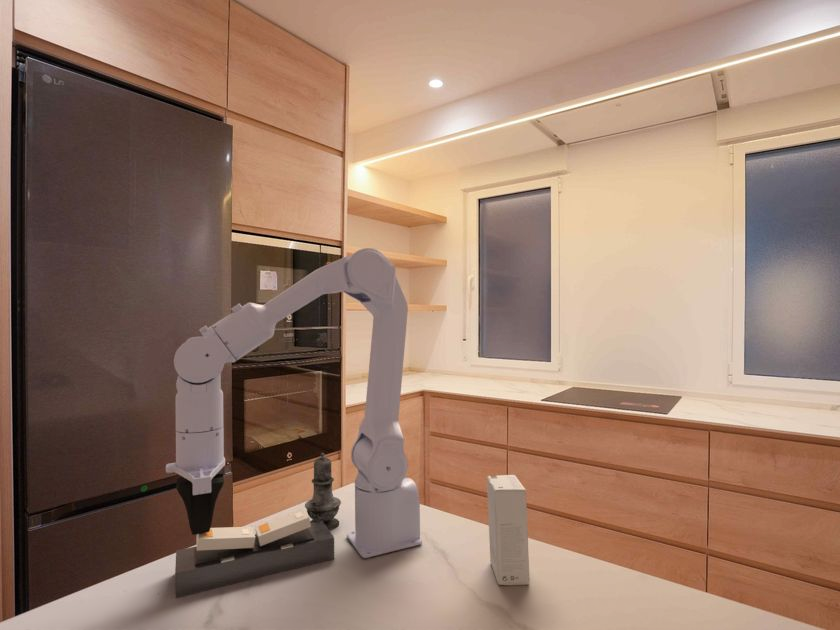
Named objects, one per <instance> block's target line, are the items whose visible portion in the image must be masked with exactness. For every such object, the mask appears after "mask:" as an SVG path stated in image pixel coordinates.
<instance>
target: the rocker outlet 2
mask: <svg viewBox="0 0 840 630" xmlns="http://www.w3.org/2000/svg"><path fill="white" fill-rule="evenodd" d="M310 521H311V518H310V517H309V515H308V513H307V510H305V507H304V508H303V507H302V508H300V509H298V510H294V511H292V512H289V513H286V514H284V515H280V516H279V517H276V518H273V519H270V520H267V521H265V522H261V523H259V524H256V525H254V529H255V534H256V535H257V538H258V541H259V544H260V546H262V545H265V544H268V543H270V542H273V541H275V540H278V539H281V538H283V537H286V536H288V535H291V534H293V533H296V532H299V531H301V530H304V529H306V528H309V527H311V524H310Z"/></svg>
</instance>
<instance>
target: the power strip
mask: <svg viewBox="0 0 840 630" xmlns="http://www.w3.org/2000/svg"><path fill="white" fill-rule="evenodd" d="M310 524H311V527H309V528H306V529H304V530H301V531H299V532H296V533H293V534H291V535H288V536H286V537H283V538H281V539H278V540H275V541H273V542H270V543H268V544H265V545H262V546H260V544H259V541H258V538H257V535H256V533H254V534H255V543H254V548H239V549H219V550H199V551H197V545H196V546H192V547H191V546H190V547H187V548H183V549H178V550H176V551H175V566H174V567H175V568H174V570H175V572H174V573H175V574H174V581H175V591H174V592H175V597H174V598H175V599H177V598H180V597H184V596H189V595H192V594H193V595H194V594H196V593H197V594H198V593H201V592H205V591H209V590H213V589H216V588H220V587H225V586H229V585H234V584H238V583H242V582H245V581H250V580H254V579H258V578H263V577H267V576H269V575H274V574H278V573H282V572H286V571H291V570H294V569H298V568H303V567H307V566H311V565H315V564H319V563H320V564H321V563H323V562H328V561H331V560H332V561H333V560H334V559H335V537H334V535H333V534H332V533H331V530H330V531H329V529H328V528H327V526H326V525H325V524H324V522H323V521H317V522H313V523H310Z"/></svg>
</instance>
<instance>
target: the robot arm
mask: <svg viewBox="0 0 840 630" xmlns="http://www.w3.org/2000/svg"><path fill="white" fill-rule="evenodd" d="M396 269H397V268H396V265H394V263H392V262H391V261H390V259H388V257H386V255H384V254H383V253H382V251H379V250H378V249H375V248H372V247H363V248H361V249H359V250H356V251H355V252H353V254H351V255H347V256H344V257H341V258H339V259H337V260H335V261H332V262H330V263H328V264H324V265H323V266H321V267H319V268H317V269H315V270H313V271H311V272H310V273H309V274H307V275H306V276H305V277H303V278H302V279H300V280H298V281H297V282H296V283H294V284H292V286H290V287H288V288H287V289H285V290H283V291H282V292H281V293H279V294H278V295H277V296H275V297H273V298H272V299H270V300H269V301H267V302H266V303H265V304H260V303H259V304H258V303H256V302H255V303H254V302H247V303H245V304H244V305H241V303H237V304H236V305H234V306H233V307H231V308H230V310H231V311H232V312H231V313H230V314H228V315H226V316H224V317H223V318H222V319H220V320H217V322H215V323H214V324H212V325H210V326H207V325H204V326H202V327H200V328H199V332H200V333H201V336H193V337H189V338H187V339H186V341H185V342H183V343H182V344H181V345H179V347H178V348H177V349H176V351H175V354H174V356H173V357H174V358H173V365H174V369H175V370H174V371H176V373H177V374H178V376H177V379H176V383H175V387H176V390H177V393H176V395H175V462H172V463H171V462H170V463H169V462H168V463H167V464H166V465H165V473H166V474H169V473H171V474H173V473H175V474H178V475H179V476H178V477H177V478H176V482H175V483H176V484H175V485H176V486H175V489H176V491H177V493H178V494H179V496H180V498H181V499H182V502H183V503H184V506H185V509H186V514H187V520H188V524H189V529H190V531H191V535H193V536H195V535H197V534H200V533H206V532H209V531H210V528H212V523H213V518H214V513H215V512H214V511H215V506H216V504H217V499H218V497H219V494H220V492H221V490H222V488H223V487H224V486H223V485H224V484H225V477H224V472H223V470H222V469H223V468H224V467H225V465H226V457H225V456H224V455H225V453H224V451H225V450H224V449H225V448H224V447H225V445H224V444H225V443H224V442H225V439H224V435H225V434H224V432H225V431H224V430H225V428H224V392H223V390H222V387H221V386H222V385H221V383H222V382H221V381H222V380H221V373H222V371H223V369H224V367H225V364H226V363H236V361H239V360H240V359H241V358H243V357H244V356H246V355H247V354H249V353H251V352H252V351H253V350H255V349H256V348H258V347H259V346H261V345H263V344H264V343H266V342H267V341H269V340H270V339H273V337H274V335H275V329H276V325H277V324H278V322H280V321H282V320H283V319H285V318H286V317H288V316H290V315H292V314H293V313H295V312H297V311H298V310H300V309H302V308H303V307H305V306H306V305H308V304H310V303H311V302H313V301H315V300H316V299H318V298H319V297H321V296H323V295H329V294H330V295H331V294H337V293H344V294H345V295H348V296H349V297H351V298H353V299H355V300H356V301H358V302H360V303H361V304H362V306H363V307H364V308H365V309H366V310H367V311H368V312H369V313H370V314H371V315H372V317H373V319H372V330H371V342H370V352H369V353H370V355H369V364H368V374H367V375H368V376H367V387H366V398H365V411H364V417H363V419H362V421H361V422H360V424H359V428H358V435H357V437H356V439H355V441H354V443H353V445H352V448H351V450H350V459H351V462H352V464H353V466H354V467H355V469H357V475H356V477H355V479H354V515H355V516H354V519H355V520H354V522H355V524H354V525H355V527H354V529H355V530H353V531H350V532H347V533H346V538H348V539H347V540H349V542H350V543H351V544H352V546H353V547H354V548H355V549H356V551H357V552H358V553H359V555H360V556H361V557H362V558H363V559H367V558H372V557H376V556H380V555H384V554H387V553H391V552H395V551H399V550H400V551H401V550H403V549H407V548H411V547H415V546H419V545H422V544H423V539H422V538H421V513H420V512H421V507H420V505H421V504H420V502H421V501H420V495H419V491H418V487H417V484H416V483H415V481H414V480H413V479H412V478H410V477H407V476H406V475H407V473H408V468H409V463H408V458H407V456H406V453H405V449H404V448H405V447H404V445H405V438H404V434H403V432H402V428H401V425H400V422H399V416H400V407H401V406H400V404H401V395H402V392H401V391H402V381H403V372H404V371H403V369H404V360H405V359H404V358H405V347H406V337H407V334H406V333H407V326H408V325H407V323H408V314H409V308H408V307H409V305H408V302H407V300H406V297H405V294H404V292H403V290H402V288H401V285H400V283H399V279H398V278H397V274H396V273H397V272H396Z"/></svg>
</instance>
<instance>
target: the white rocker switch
mask: <svg viewBox="0 0 840 630" xmlns="http://www.w3.org/2000/svg"><path fill="white" fill-rule="evenodd" d="M255 534H256V533H255V532H254V528H253V526H231V527H230V526H229V527H227V526H226V527H225V526H224V527H211V528H210V531H209V532H206V533H200V534H196V536H195V537H196V539H195V541H196V542H195V543H196V546H197V551H199V550H219V549H239V548H254V543H255Z"/></svg>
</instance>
